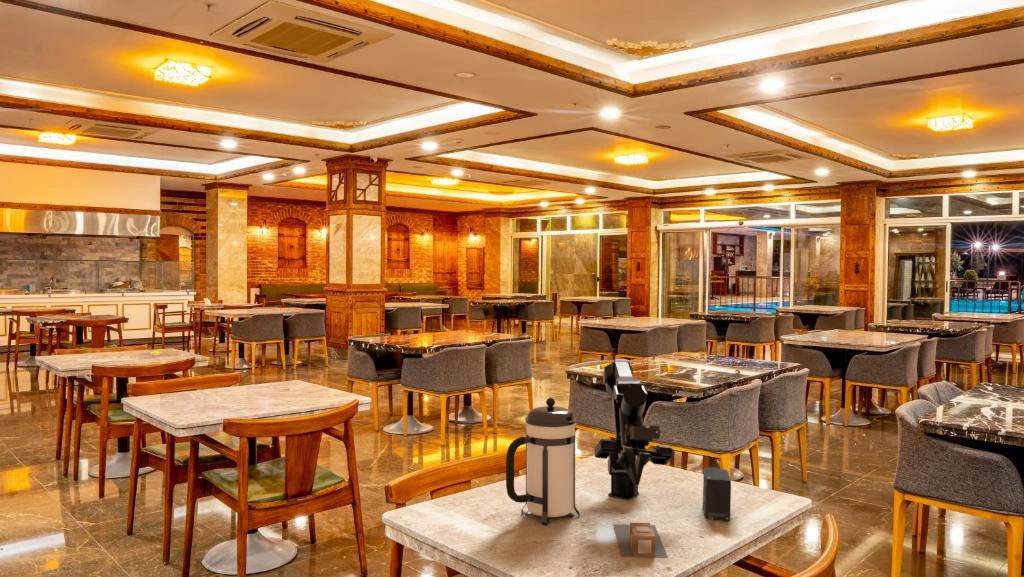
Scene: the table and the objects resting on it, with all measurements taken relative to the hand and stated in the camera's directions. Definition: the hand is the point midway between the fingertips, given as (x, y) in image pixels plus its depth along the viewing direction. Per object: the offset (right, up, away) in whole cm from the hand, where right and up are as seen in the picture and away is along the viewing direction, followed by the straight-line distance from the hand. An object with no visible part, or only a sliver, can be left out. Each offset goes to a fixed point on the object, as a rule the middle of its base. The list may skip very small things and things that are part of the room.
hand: (636, 485), depth 170 cm
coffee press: (-21, -11, +8) cm, 25 cm away
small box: (+22, -11, +11) cm, 27 cm away
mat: (-1, -11, -8) cm, 14 cm away
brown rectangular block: (-1, -8, -10) cm, 13 cm away
